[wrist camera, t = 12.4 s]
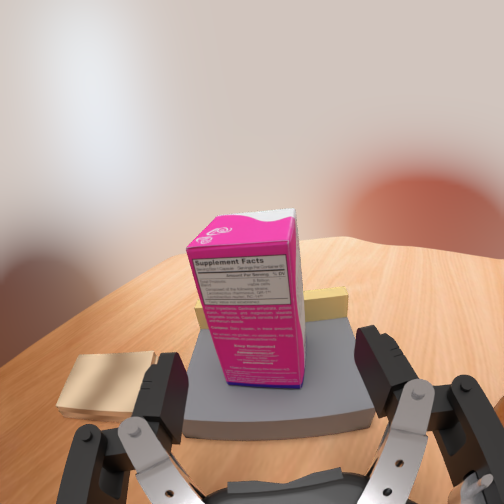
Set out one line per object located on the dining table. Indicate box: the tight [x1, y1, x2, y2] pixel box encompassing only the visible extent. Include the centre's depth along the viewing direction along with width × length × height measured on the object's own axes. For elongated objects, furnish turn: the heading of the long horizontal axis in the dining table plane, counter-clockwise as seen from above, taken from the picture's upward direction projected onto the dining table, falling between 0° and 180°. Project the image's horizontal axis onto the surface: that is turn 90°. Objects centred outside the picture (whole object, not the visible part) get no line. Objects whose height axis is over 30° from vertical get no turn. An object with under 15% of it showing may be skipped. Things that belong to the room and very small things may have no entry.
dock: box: [182, 286, 376, 440], centre depth 21 cm, size 14×12×6 cm
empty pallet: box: [56, 351, 159, 422], centre depth 22 cm, size 10×8×2 cm
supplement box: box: [186, 208, 307, 389], centre depth 18 cm, size 6×6×12 cm
